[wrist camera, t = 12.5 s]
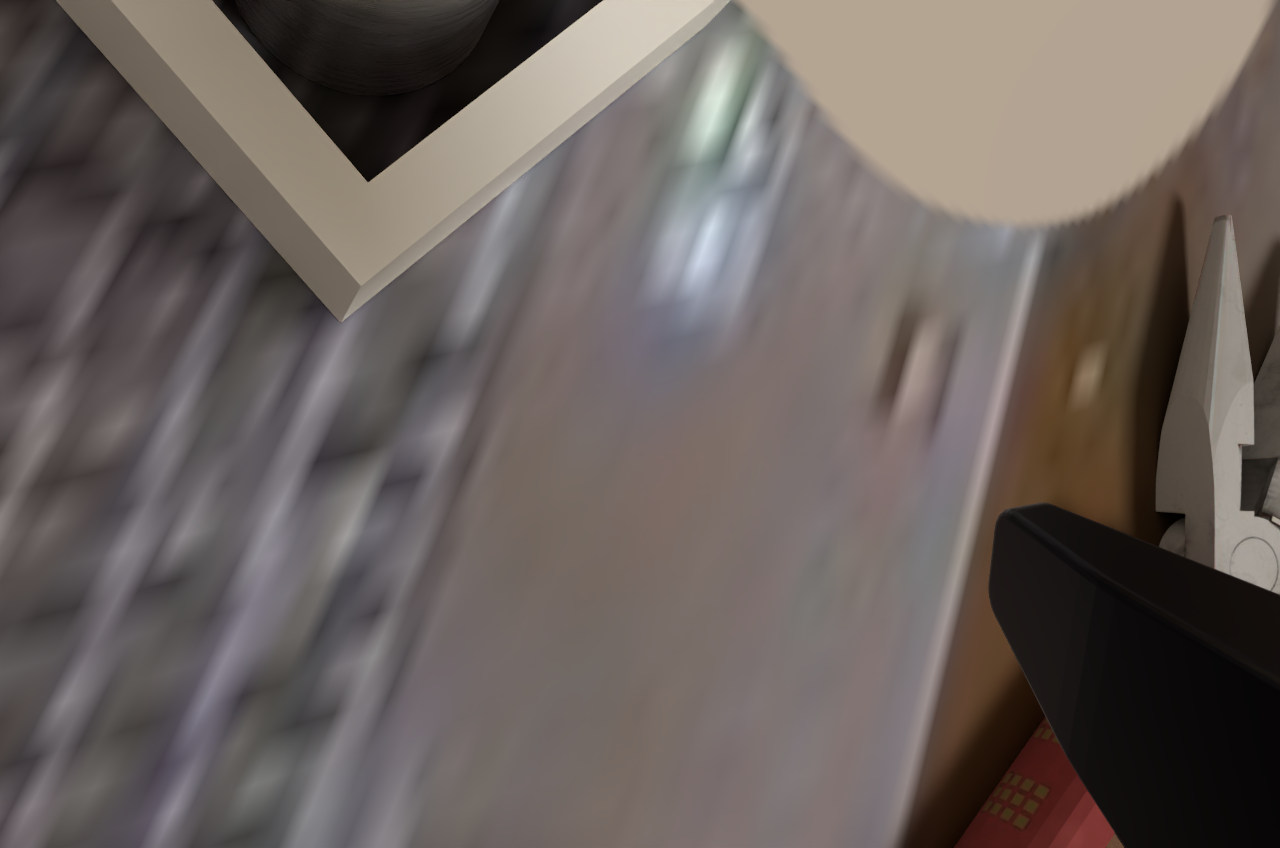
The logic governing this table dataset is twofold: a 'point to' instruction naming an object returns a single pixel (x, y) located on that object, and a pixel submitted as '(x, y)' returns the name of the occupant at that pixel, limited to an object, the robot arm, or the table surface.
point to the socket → (322, 175)
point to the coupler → (369, 39)
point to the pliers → (1175, 530)
